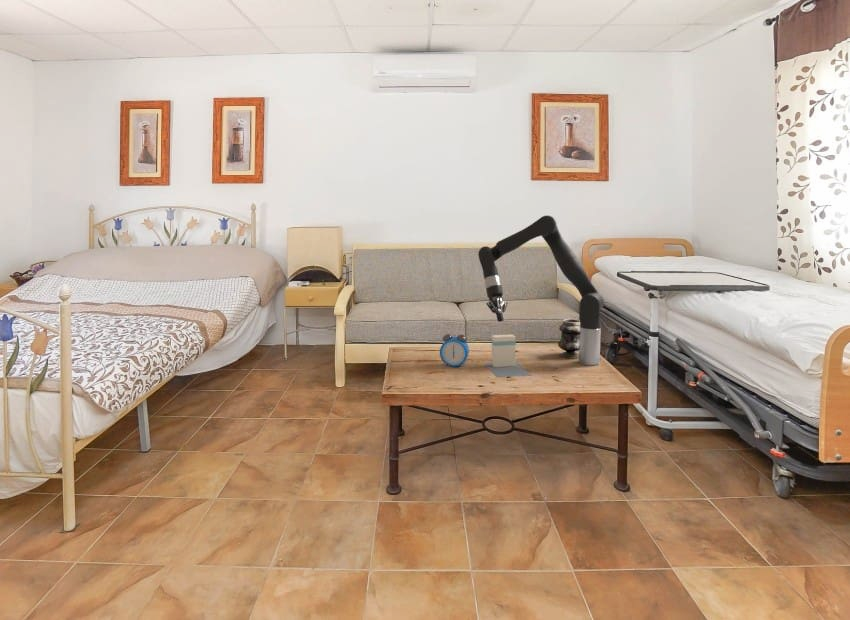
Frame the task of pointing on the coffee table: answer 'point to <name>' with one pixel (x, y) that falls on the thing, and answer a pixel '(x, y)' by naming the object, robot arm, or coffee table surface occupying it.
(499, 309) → the robot arm
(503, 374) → the mat
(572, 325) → the apothecary jar
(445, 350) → the alarm clock
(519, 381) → the coffee table surface
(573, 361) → the coffee table surface
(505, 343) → the box
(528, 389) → the coffee table surface
